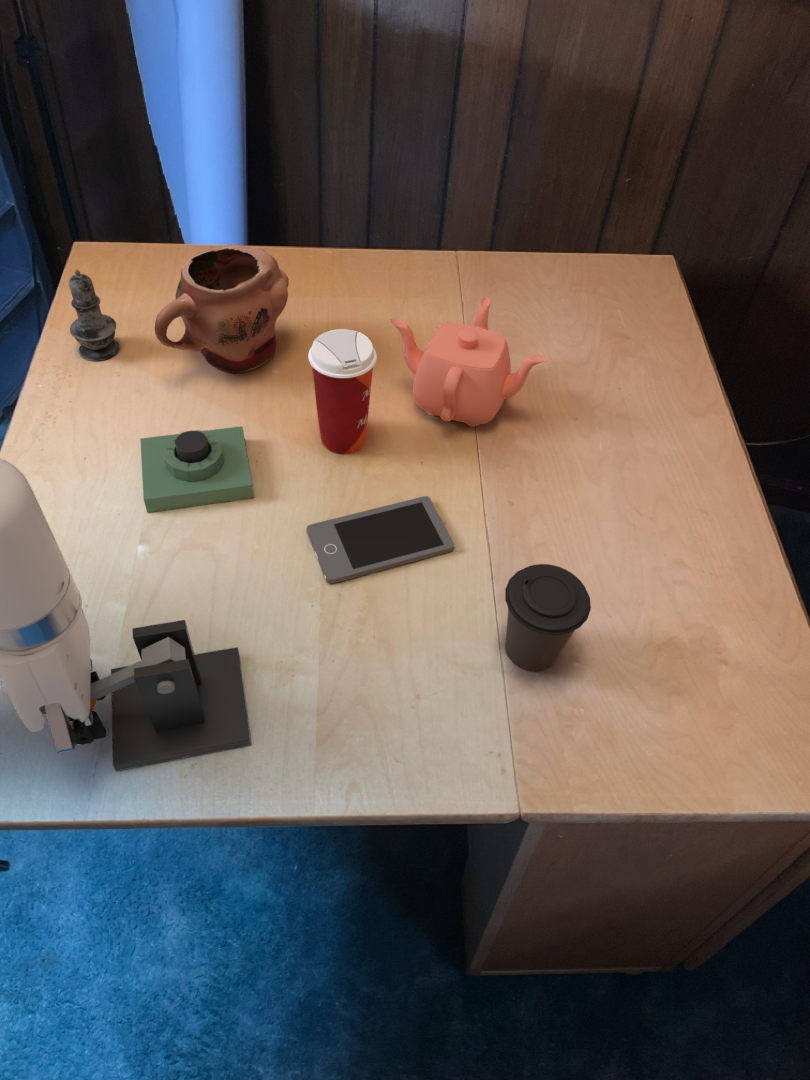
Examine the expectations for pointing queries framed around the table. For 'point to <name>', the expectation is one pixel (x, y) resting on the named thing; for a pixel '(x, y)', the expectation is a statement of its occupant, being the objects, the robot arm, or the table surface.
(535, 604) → the coffee cup
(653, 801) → the table surface
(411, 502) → the smartphone
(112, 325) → the salt shaker
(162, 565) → the table surface
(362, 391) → the paper cup
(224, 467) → the control block
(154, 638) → the lever base
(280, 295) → the decorative planter
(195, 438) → the button
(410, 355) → the teapot
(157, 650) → the switch lever
